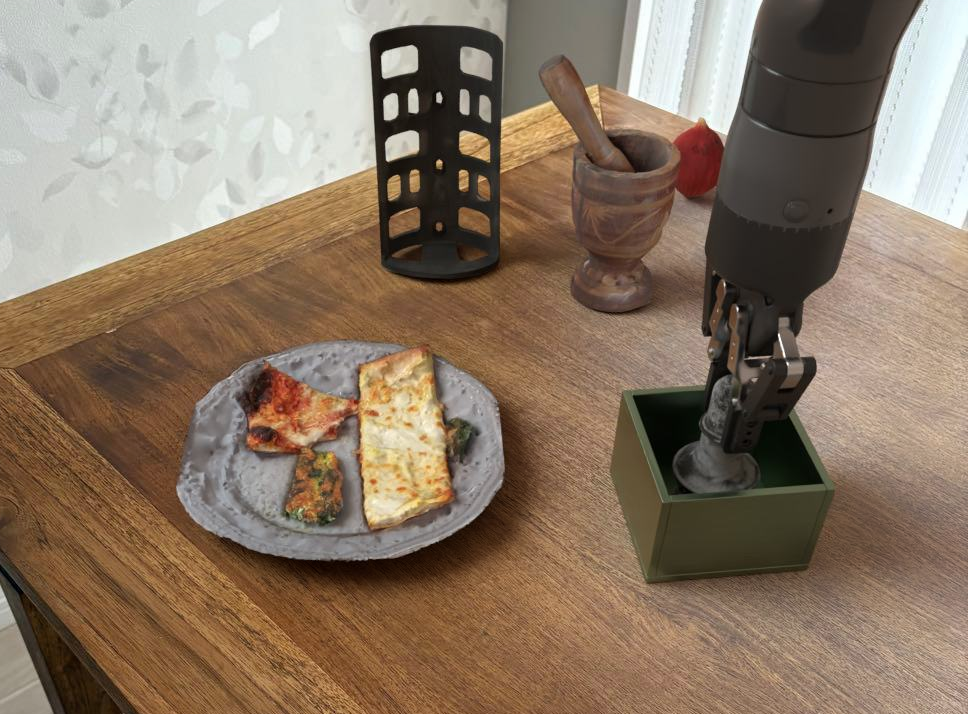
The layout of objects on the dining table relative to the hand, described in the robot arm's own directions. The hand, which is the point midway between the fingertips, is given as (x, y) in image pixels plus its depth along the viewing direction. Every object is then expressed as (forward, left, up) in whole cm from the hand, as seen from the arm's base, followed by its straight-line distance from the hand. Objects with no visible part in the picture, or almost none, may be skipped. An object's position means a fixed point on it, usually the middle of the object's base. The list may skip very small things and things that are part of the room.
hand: (727, 427), depth 73 cm
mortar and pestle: (+2, -29, -9) cm, 30 cm away
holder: (+15, -36, -9) cm, 40 cm away
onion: (-11, -44, -9) cm, 46 cm away
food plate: (+25, -9, -9) cm, 28 cm away
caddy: (0, 0, -8) cm, 8 cm away
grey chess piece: (0, 0, -7) cm, 7 cm away
